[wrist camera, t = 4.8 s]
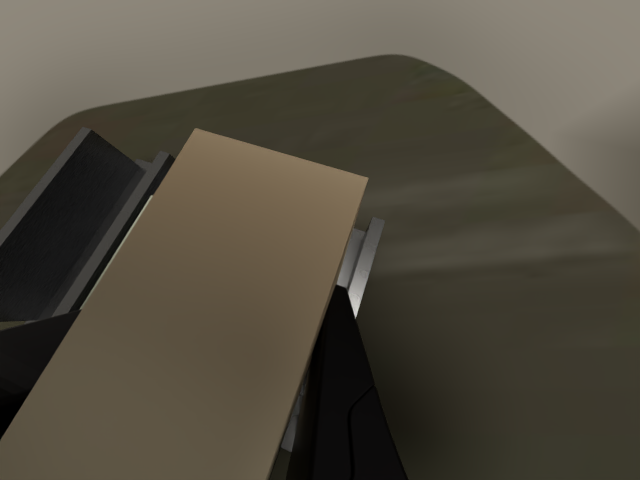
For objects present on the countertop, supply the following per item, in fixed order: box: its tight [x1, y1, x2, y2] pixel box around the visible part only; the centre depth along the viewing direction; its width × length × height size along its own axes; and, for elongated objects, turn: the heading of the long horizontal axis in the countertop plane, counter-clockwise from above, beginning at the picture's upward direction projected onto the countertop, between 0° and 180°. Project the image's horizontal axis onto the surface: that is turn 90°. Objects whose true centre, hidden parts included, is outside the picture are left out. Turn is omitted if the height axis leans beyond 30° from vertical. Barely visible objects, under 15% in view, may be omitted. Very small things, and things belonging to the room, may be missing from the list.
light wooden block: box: [0, 128, 368, 480], centre depth 8 cm, size 5×2×11 cm, turn 160°
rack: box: [0, 127, 385, 452], centre depth 13 cm, size 12×18×4 cm
